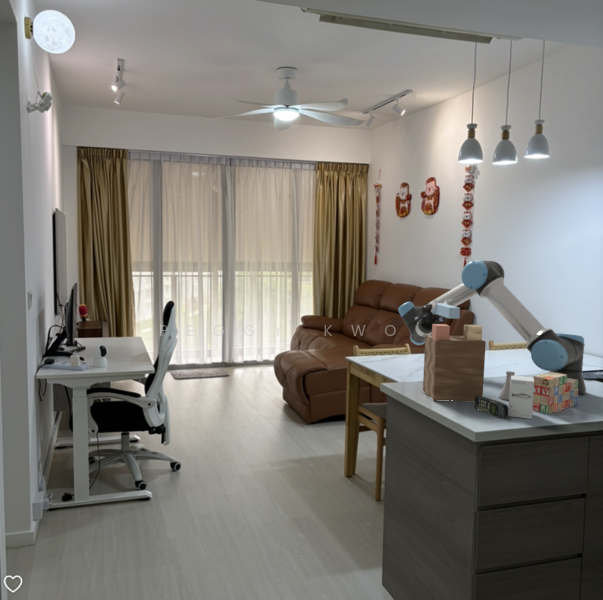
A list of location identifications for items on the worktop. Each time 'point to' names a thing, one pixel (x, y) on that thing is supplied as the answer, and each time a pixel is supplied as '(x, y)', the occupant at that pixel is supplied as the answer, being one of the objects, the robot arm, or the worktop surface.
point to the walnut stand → (453, 368)
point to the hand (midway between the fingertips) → (441, 302)
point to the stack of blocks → (554, 392)
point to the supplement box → (521, 397)
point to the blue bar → (447, 311)
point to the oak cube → (472, 332)
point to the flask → (506, 386)
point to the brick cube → (440, 331)
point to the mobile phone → (492, 407)
